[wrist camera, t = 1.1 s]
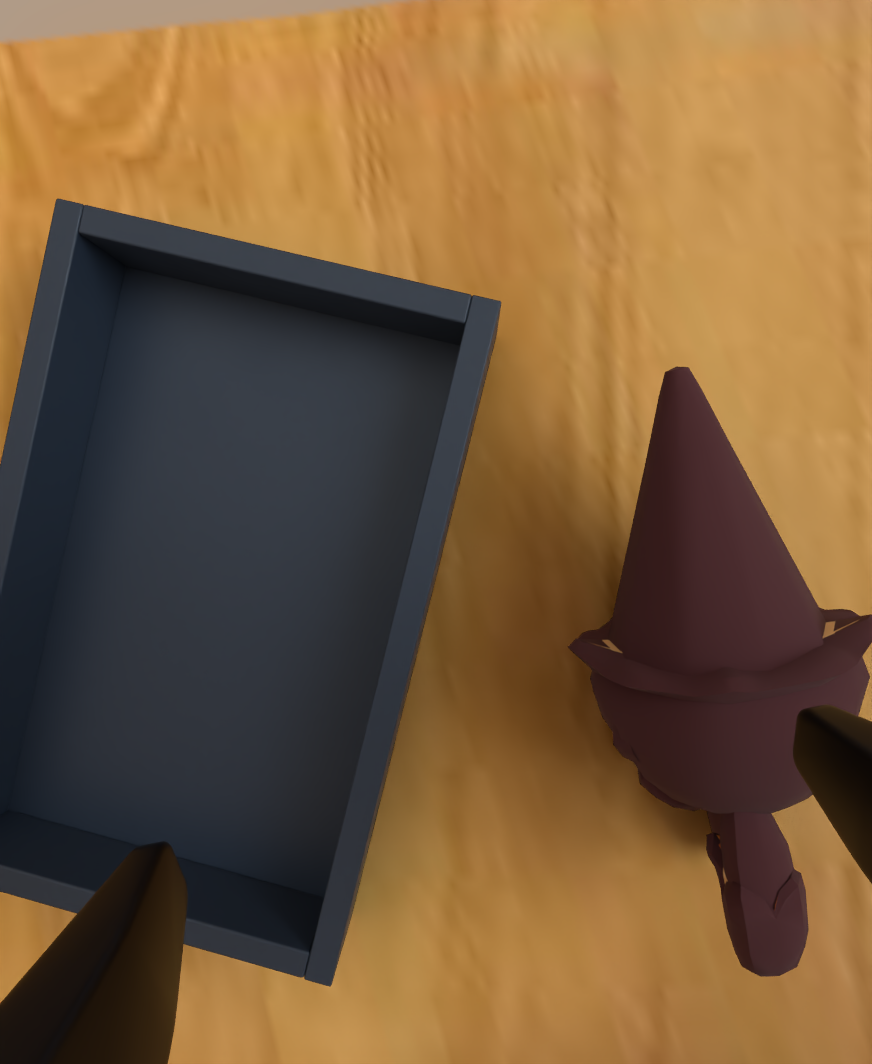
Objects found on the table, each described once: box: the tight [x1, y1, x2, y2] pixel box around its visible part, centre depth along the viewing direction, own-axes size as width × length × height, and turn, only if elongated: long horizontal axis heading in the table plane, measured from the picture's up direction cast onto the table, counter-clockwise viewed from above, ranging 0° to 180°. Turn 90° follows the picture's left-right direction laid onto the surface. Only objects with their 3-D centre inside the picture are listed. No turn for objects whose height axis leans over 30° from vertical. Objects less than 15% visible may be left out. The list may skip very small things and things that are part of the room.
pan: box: [0, 199, 501, 986], centre depth 19 cm, size 13×20×3 cm, turn 166°
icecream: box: [568, 367, 872, 976], centre depth 17 cm, size 7×7×15 cm
